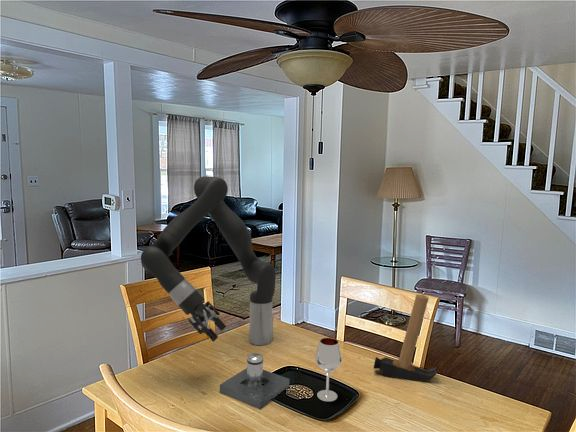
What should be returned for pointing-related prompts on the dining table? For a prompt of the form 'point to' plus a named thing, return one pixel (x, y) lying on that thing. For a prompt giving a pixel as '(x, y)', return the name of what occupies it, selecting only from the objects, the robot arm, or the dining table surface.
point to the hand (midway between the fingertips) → (220, 333)
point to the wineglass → (328, 364)
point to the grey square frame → (251, 396)
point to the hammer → (408, 349)
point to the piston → (254, 370)
